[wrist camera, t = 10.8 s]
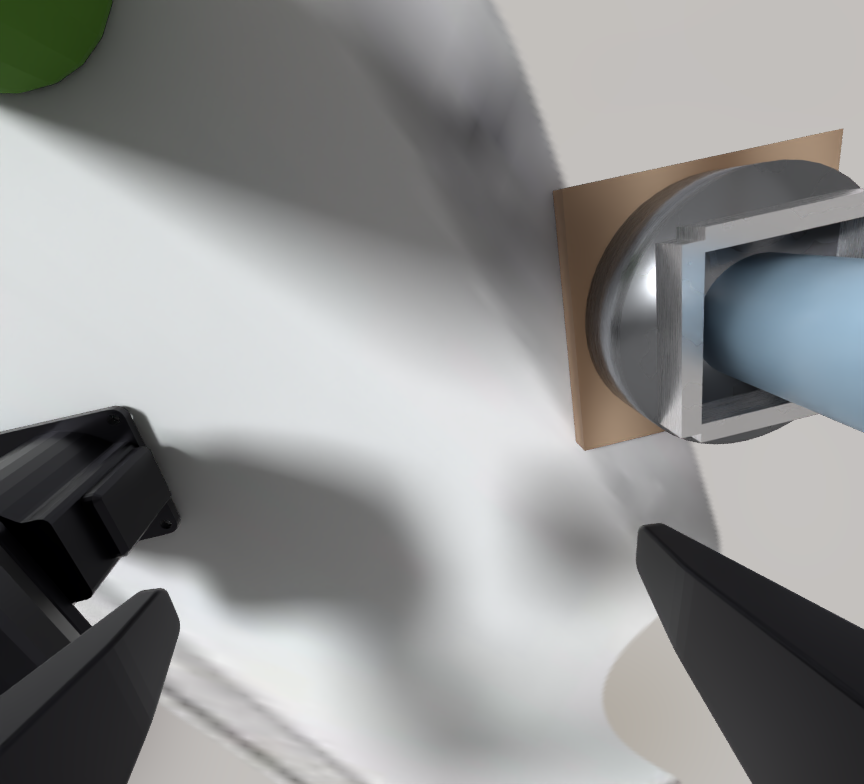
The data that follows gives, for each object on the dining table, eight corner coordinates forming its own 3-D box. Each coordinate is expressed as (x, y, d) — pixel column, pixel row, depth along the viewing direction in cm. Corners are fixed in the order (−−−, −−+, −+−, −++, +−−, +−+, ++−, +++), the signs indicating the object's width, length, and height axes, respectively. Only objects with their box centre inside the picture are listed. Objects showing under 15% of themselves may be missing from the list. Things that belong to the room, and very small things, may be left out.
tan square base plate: (576, 441, 23) (633, 502, 18) (552, 190, 19) (620, 177, 14) (795, 388, 24) (910, 432, 19) (820, 133, 20) (980, 100, 14)
